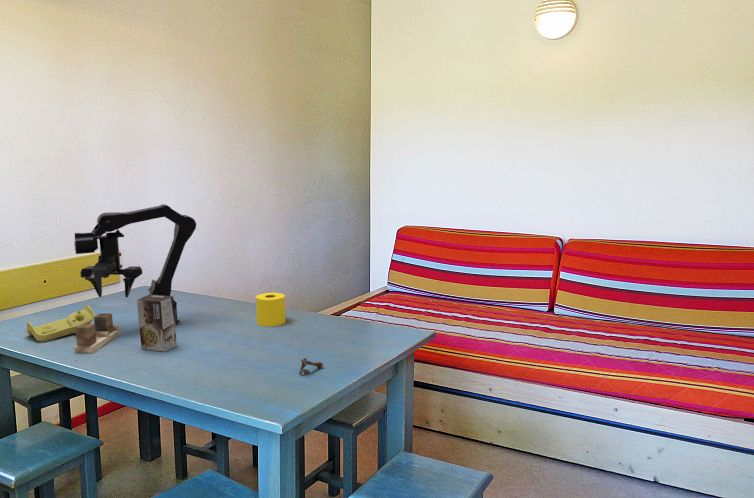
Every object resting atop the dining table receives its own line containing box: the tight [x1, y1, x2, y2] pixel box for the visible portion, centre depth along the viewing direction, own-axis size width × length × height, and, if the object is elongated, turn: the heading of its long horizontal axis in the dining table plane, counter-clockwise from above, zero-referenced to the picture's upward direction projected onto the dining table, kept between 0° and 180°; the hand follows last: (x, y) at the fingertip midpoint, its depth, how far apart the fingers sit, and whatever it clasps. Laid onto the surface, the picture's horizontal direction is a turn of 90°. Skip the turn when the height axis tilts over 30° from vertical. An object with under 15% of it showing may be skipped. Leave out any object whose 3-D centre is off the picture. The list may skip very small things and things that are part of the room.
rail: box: [73, 323, 121, 354], centre depth 199 cm, size 6×17×8 cm, turn 176°
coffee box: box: [136, 294, 178, 352], centre depth 195 cm, size 9×6×16 cm
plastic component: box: [26, 305, 96, 343], centre depth 211 cm, size 20×7×10 cm
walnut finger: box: [93, 313, 114, 334], centre depth 203 cm, size 4×5×6 cm
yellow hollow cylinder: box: [255, 292, 286, 327], centre depth 221 cm, size 10×10×9 cm
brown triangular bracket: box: [298, 357, 324, 375], centre depth 175 cm, size 2×8×4 cm, turn 138°
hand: (113, 297), depth 210 cm, fingers open, 9 cm apart
